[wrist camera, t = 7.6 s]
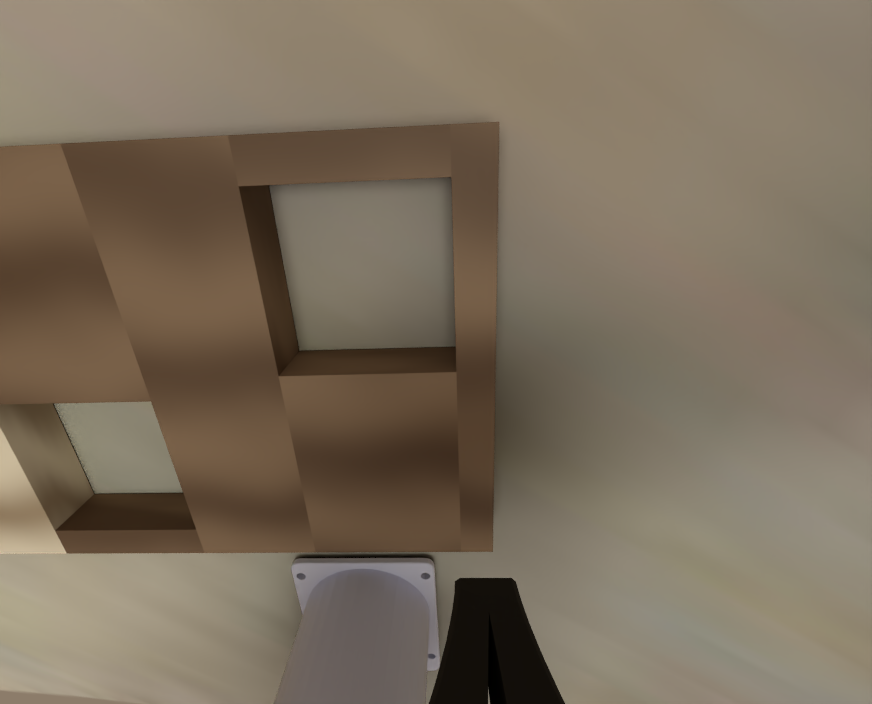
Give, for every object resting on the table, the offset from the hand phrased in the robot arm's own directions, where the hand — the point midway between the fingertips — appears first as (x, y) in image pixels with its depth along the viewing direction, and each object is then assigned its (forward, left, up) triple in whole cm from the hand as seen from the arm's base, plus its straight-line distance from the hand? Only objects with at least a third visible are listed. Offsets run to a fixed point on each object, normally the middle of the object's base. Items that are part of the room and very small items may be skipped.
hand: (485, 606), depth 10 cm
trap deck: (+2, +13, -10) cm, 16 cm away
